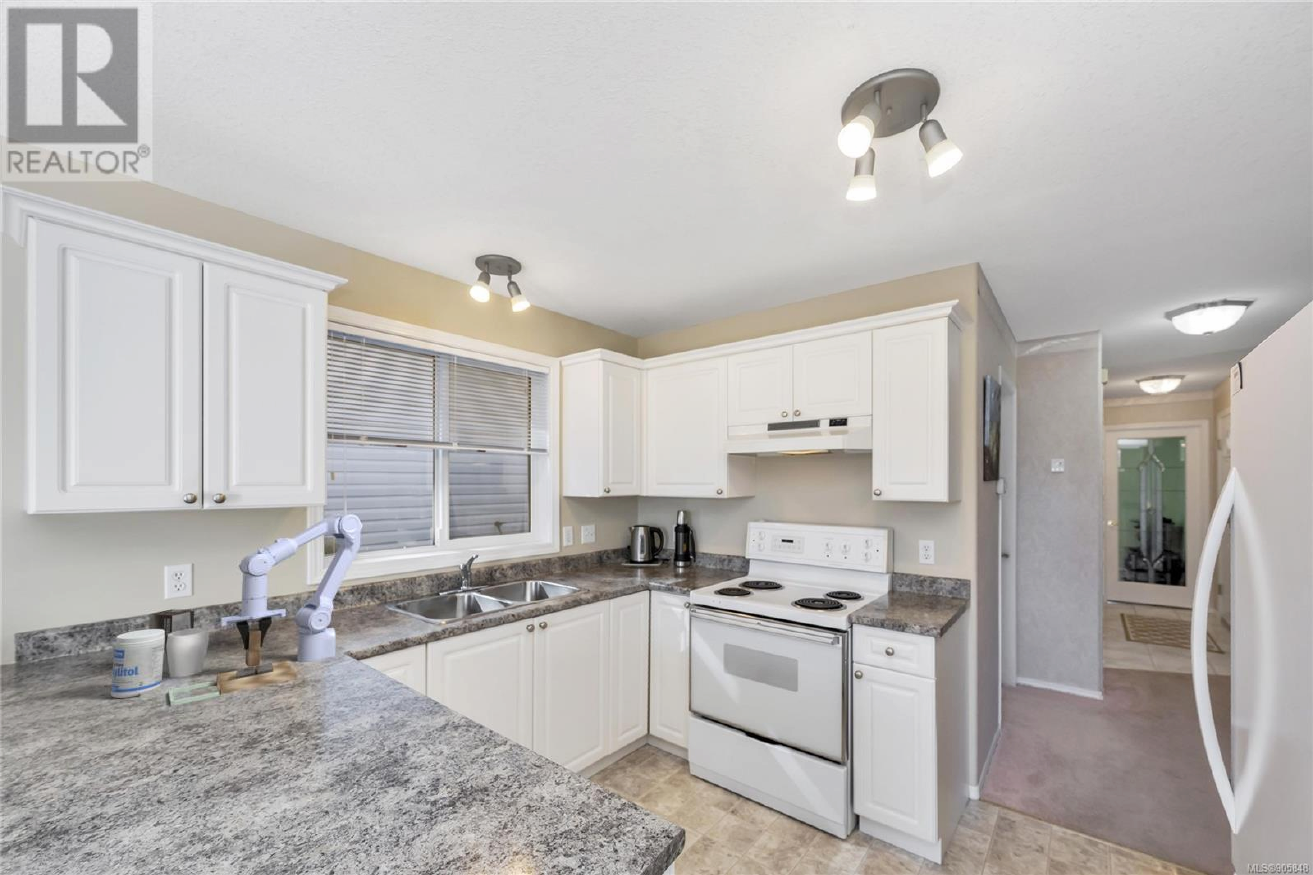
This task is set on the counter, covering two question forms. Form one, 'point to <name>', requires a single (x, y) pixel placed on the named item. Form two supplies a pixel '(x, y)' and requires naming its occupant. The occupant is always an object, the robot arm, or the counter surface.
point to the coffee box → (171, 626)
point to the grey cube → (263, 668)
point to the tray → (191, 697)
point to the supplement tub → (137, 662)
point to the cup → (187, 651)
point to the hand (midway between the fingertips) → (253, 647)
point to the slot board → (255, 678)
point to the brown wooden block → (253, 647)
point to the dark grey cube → (245, 672)
